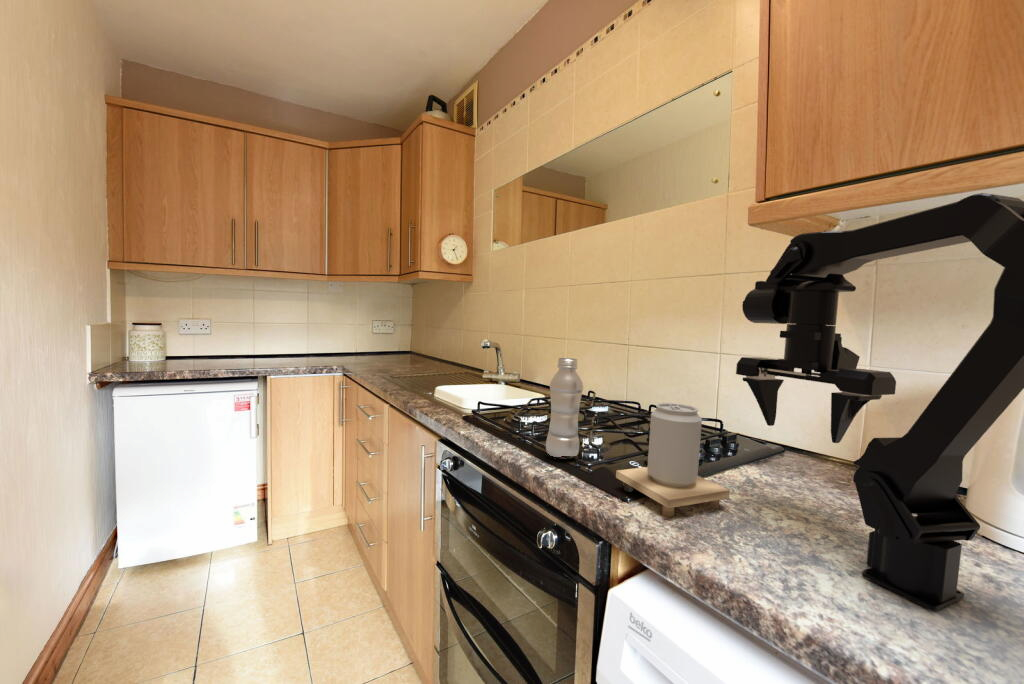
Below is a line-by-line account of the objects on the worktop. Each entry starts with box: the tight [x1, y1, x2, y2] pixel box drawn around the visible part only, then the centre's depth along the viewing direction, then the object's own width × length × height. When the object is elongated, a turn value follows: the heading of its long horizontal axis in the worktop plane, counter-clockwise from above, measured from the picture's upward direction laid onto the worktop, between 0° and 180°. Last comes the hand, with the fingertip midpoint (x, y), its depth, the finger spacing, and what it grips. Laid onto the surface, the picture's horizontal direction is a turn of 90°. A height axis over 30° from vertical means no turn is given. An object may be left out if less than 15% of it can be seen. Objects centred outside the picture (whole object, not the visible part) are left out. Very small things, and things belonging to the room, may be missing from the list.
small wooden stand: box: [615, 466, 731, 518], centre depth 68 cm, size 12×12×3 cm
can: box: [647, 402, 703, 488], centre depth 68 cm, size 8×8×12 cm
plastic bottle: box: [545, 357, 584, 457], centre depth 85 cm, size 6×7×20 cm
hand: (801, 433), depth 62 cm, fingers open, 9 cm apart
